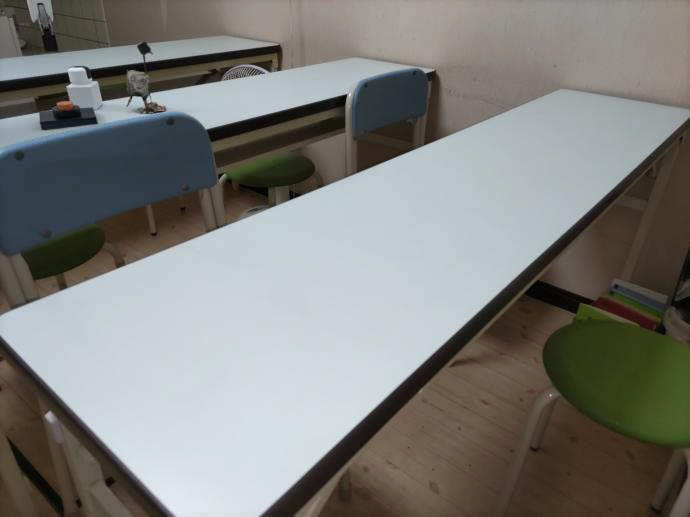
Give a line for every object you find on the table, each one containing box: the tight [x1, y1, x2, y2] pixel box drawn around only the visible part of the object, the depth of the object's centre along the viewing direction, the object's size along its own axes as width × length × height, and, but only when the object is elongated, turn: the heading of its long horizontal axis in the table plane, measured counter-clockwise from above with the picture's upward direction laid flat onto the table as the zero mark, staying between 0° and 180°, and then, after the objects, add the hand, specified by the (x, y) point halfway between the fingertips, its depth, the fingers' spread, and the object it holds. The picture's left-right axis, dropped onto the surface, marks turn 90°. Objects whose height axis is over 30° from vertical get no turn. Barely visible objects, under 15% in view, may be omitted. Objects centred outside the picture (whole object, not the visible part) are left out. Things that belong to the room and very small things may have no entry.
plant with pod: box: [125, 40, 167, 115], centre depth 151 cm, size 8×11×20 cm
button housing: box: [38, 105, 99, 131], centre depth 144 cm, size 14×11×4 cm
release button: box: [56, 100, 74, 110], centre depth 142 cm, size 4×4×2 cm
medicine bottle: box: [65, 65, 104, 111], centre depth 155 cm, size 7×7×12 cm
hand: (51, 50), depth 135 cm, fingers closed
